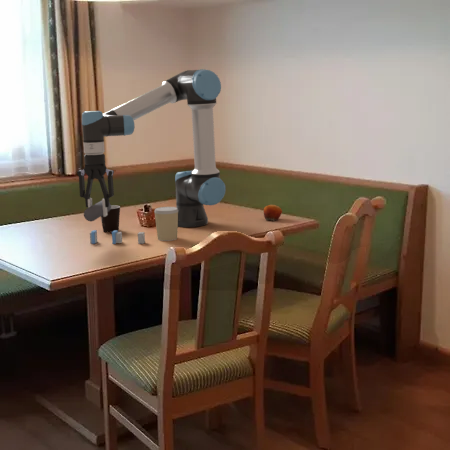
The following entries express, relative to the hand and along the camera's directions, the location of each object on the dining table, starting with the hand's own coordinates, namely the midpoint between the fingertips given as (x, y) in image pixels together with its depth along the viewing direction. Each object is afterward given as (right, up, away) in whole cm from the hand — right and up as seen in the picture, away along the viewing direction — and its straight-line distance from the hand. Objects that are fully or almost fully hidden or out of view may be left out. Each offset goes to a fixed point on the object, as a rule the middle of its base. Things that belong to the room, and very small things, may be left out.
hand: (98, 215), depth 250 cm
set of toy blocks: (+6, -10, +8) cm, 14 cm away
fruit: (+68, -2, +43) cm, 81 cm away
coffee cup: (+25, -9, +13) cm, 29 cm away
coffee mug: (0, -6, +31) cm, 31 cm away
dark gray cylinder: (+1, 0, 0) cm, 1 cm away
